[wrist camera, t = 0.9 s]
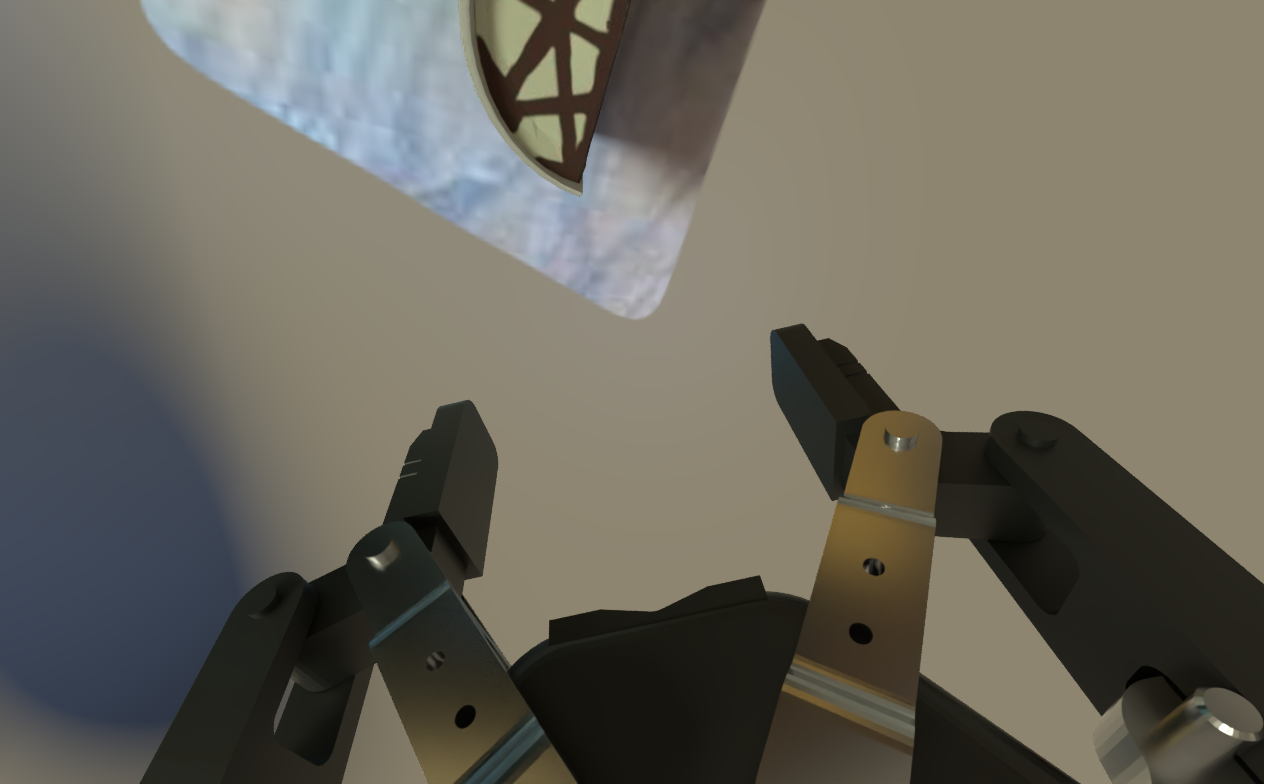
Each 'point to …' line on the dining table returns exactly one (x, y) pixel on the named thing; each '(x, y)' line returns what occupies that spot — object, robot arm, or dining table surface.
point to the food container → (543, 75)
